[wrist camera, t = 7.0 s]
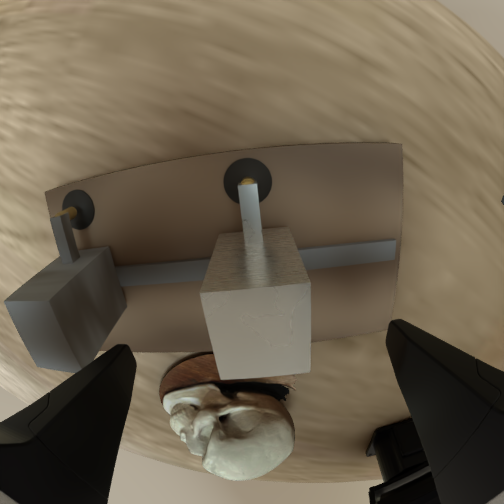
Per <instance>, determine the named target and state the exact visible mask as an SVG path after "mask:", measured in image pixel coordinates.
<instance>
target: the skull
mask: <svg viewBox="0 0 504 504" xmlns="http://www.w3.org/2000/svg"><path fill="white" fill-rule="evenodd" d="M295 379H296V380H297V378H296V377H295V376H294V375H293V374H292V375H282V376H272V377H261V378H247V379H229V380H221V379H220V375H219V372H218V368H217V364H216V360H215V356H214V354H208V355H202V356H198V357H196V358H192V359H189V360H187V361H184V362H182V363H181V364H179V365H177V366H176V367H175V368H174V367H173V368H172V370H171V371H169V372H168V373H167V374H166V376H165V377H164V379H163V380H162V382H161V385H160V390H159V395H160V399H161V403H162V405H163V407H164V409H165V411H167V413H168V414H169V415H170V426H171V428H172V429H173V430H174V431H175V432H176V433H177V434H178V435H180V440H182V441H184V442H186V444H187V446H188V448H189V451H190V453H192V454H195V455H200V456H202V457H203V458H202V465H203V467H204V468H205V469H206V470H207V471H209V472H211V473H213V474H215V475H217V476H220V477H222V478H225V479H228V480H236V481H237V480H249V479H253V478H256V477H260V476H262V475H264V474H266V473H268V472H269V471H271V470H272V469H274V468H275V467H277V466H278V465H279V464H280V463H282V462H283V461H284V460H285V459H286V458H287V457H288V456H289V455H290V454H291V452H292V451H293V448H294V447H293V446H294V440H295V429H294V423H293V420H292V418H291V416H290V414H289V412H288V411H287V409H286V408H285V407H284V406H283V404H282V403H280V399H283V400H284V401H286V399H287V398H285V395H287V394H289V390H288V388H286V387H284V386H282V385H285V386H288V387H291V388H293V389H294V390H296V388H295V387H294V386H293V384H295V383H294V382H295V381H296V380H295Z"/></svg>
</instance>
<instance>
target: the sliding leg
mask: <svg viewBox="0 0 504 504" xmlns="http://www.w3.org/2000/svg"><path fill="white" fill-rule="evenodd" d="M238 192H239V200H240V208H241V217H242V225H243V231H242V232H232V233H223V234H219V236H218V239H217V242H216V245H215V248H214V251H213V254H212V257H211V260H210V263H209V266H208V269H207V272H206V275H205V278H204V281H203V284H202V287H201V290H200V297H201V302H202V306H203V311H204V315H205V319H206V324H207V328H208V332H209V336H210V340H211V344H212V348H213V352H214V356H215V360H216V364H217V368H218V372H219V375H220V379H221V380H229V379H247V378H261V377H272V376H282V375H292V374H300V373H308V372H310V366H311V282H310V280H309V277H308V274H307V272H306V269H305V267H304V264H303V262H302V259H301V257H300V254H299V252H298V249H297V247H296V244H295V242H294V239H293V237H292V234H291V232H290V229H289V227H281V228H271V229H262V227H261V217H260V208H259V198H258V189H257V181H255V180H254V179H253V178H252V177H245V178H243V179H242V181H241V183H238Z"/></svg>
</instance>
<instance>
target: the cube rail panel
mask: <svg viewBox="0 0 504 504" xmlns="http://www.w3.org/2000/svg"><path fill="white" fill-rule="evenodd" d="M245 177H252V178H253V179H254V180H255V181H257V189H258V198H259V208H260V217H261V227H262V229H271V228H281V227H289V229H290V232H291V234H292V237H293V239H294V242H295V244H296V247H297V249H298V252H299V254H300V257H301V259H302V262H303V264H304V267H305V269H306V272H307V274H308V277H309V280H310V282H311V342H318V341H325V340H332V339H339V338H345V337H351V336H357V335H363V334H368V333H374V332H379V331H384V330H388V325H389V322H390V321H391V319H392V313H393V306H394V300H395V293H396V285H397V277H398V269H399V259H400V247H401V234H402V214H403V154H402V144H398V143H323V144H303V145H288V146H275V147H264V148H254V149H245V150H236V151H228V152H220V153H213V154H206V155H199V156H193V157H187V158H181V159H175V160H170V161H164V162H159V163H154V164H149V165H144V166H139V167H134V168H130V169H125V170H121V171H117V172H113V173H108V174H104V175H100V176H96V177H93V178H89V179H85V180H81V181H78V182H74V183H71V184H67V185H64V186H60V187H57V188H54V189H51V190H49V191H46V192H45V196H46V201H47V205H48V210H49V214H50V221H51V225H52V229H53V233H54V237H55V240H56V244H57V247H58V250H59V254H60V257H58V258H57V259H55V260H54V261H53V262H51V263H50V264H49V265H48V266H46V267H45V268H44V269H42V270H41V271H40V272H38V273H37V274H36V275H35V276H33V277H32V278H31V279H30V280H28V281H27V282H26V283H25V284H24V285H22V286H21V287H20V288H19V289H17V290H16V291H15V292H14V293H13V294H12V295H10V296H9V297H8V298H7V299H6V300H5V301H4V303H5V305H6V307H7V310H8V312H9V314H10V316H11V318H12V320H13V323H14V325H15V327H16V329H17V331H18V333H19V335H20V337H21V338H22V340H23V342H24V344H25V346H26V348H27V350H28V351H29V353H30V355H31V357H32V358H33V360H34V362H35V363H36V365H37V367H41V368H46V369H52V370H58V371H65V372H71V373H77V372H78V371H80V370H81V369H82V368H84V367H85V366H87V365H88V364H89V363H91V362H92V361H93V360H94V358H95V356H96V355H97V353H98V352H99V351H108V350H109V349H111V348H112V347H114V346H115V345H117V344H127V345H129V347H130V349H131V351H132V352H203V351H213V348H212V344H211V340H210V336H209V332H208V328H207V324H206V319H205V315H204V311H203V306H202V302H201V297H200V290H201V287H202V284H203V281H204V278H205V275H206V272H207V269H208V266H209V263H210V260H211V257H212V254H213V251H214V248H215V245H216V242H217V239H218V236H219V234H223V233H232V232H242V231H243V225H242V217H241V208H240V200H239V192H238V183H241V181H242V179H243V178H245Z"/></svg>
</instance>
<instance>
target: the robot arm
mask: <svg viewBox="0 0 504 504" xmlns="http://www.w3.org/2000/svg"><path fill="white" fill-rule="evenodd" d="M386 347H387V350H388V353H389V356H390V359H391V363H392V366H393V369H394V373H395V376H396V379H397V382H398V384H399V387H400V389H401V392H402V394H403V396H404V399H405V401H406V404H407V406H408V409H409V411H410V414H411V416H412V419H411V420H407V421H404V422H401V423H398V424H394V425H391V426H387V427H383V428H380V429H377V430H376V431H375V432H374V435H373V437H372V440H371V442H370V445H369V447H368V449H367V452H366V456H373V455H376V457H377V461H378V464H379V467H380V471H381V474H382V477H383V481H384V483H382V484H379V485H377V486H373V487H370V488H369V490H370V491H369V498H370V504H504V372H503V371H501V370H499V369H497V368H494V367H492V366H490V365H488V364H486V363H484V362H483V361H481V360H479V359H475V357H473V356H471V355H469V354H467V353H465V352H464V351H462V350H460V349H458V348H456V347H454V346H452V345H450V344H448V343H446V342H445V341H443V340H441V339H439V338H437V337H435V336H433V335H431V334H429V333H427V332H425V331H423V330H422V329H420V328H418V327H416V326H414V325H412V324H410V323H408V322H406V321H404V320H402V319H396V320H392V321H390V322H389V325H388V331H387V336H386ZM136 367H137V365H136V360H135V358H134V356H133V353H132V351H131V349H130V347H129V345H127V344H117V345H115V346H114V347H112V348H111V349H109V350H108V351H107V352H105V353H104V354H102V355H101V356H99V357H98V358H97V359H95V360H94V361H92V362H91V363H89V364H88V365H87V366H85V367H84V368H82V369H81V370H80V371H78V372H77V373H75V374H74V375H72V376H71V377H70V378H68V379H67V380H65V381H64V382H63V383H61V384H60V385H58V386H57V387H56V388H54V389H53V390H51V391H50V392H48V393H47V394H46V395H44V396H43V397H41V398H40V399H38V400H37V401H35V402H34V403H32V404H31V405H29V406H28V407H26V408H24V409H23V410H21V411H19V412H17V413H16V414H14V415H12V416H11V417H9V418H7V419H5V420H4V421H2V422H0V504H107V503H108V496H109V492H110V486H111V481H112V476H113V472H114V467H115V463H116V458H117V454H118V450H119V445H120V441H121V437H122V433H123V429H124V425H125V421H126V418H127V414H128V410H129V406H130V402H131V397H132V391H133V385H134V379H135V373H136Z"/></svg>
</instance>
